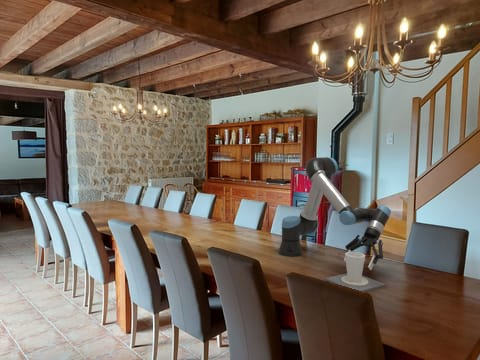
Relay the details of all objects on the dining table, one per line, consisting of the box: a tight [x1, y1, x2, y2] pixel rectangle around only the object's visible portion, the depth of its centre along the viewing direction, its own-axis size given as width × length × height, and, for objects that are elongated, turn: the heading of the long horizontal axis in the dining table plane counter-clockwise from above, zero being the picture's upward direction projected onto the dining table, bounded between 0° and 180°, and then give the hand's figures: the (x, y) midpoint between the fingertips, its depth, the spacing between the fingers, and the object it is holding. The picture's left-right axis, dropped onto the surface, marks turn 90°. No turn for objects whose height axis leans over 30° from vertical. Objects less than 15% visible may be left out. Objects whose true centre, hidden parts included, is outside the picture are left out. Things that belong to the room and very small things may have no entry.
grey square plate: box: [325, 272, 386, 293], centre depth 175 cm, size 20×20×2 cm
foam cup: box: [344, 251, 366, 282], centre depth 174 cm, size 10×9×13 cm
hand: (357, 264), depth 175 cm, fingers open, 13 cm apart
